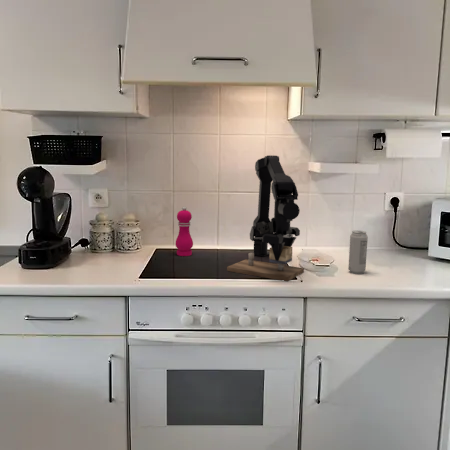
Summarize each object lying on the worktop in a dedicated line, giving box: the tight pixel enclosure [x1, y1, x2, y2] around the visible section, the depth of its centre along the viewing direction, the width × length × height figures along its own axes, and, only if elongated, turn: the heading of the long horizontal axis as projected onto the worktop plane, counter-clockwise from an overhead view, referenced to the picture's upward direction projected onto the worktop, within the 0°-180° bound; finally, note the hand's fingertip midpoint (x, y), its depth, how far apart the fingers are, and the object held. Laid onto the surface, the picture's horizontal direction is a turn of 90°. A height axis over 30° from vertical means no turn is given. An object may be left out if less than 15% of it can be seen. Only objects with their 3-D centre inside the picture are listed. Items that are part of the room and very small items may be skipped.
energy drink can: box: [348, 230, 368, 275], centre depth 177 cm, size 6×6×15 cm
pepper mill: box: [175, 206, 194, 257], centre depth 201 cm, size 7×7×20 cm
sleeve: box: [268, 246, 293, 265], centre depth 173 cm, size 6×6×5 cm
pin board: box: [226, 252, 305, 282], centre depth 177 cm, size 14×24×6 cm, turn 58°
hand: (280, 258), depth 174 cm, fingers closed on sleeve, 6 cm apart
